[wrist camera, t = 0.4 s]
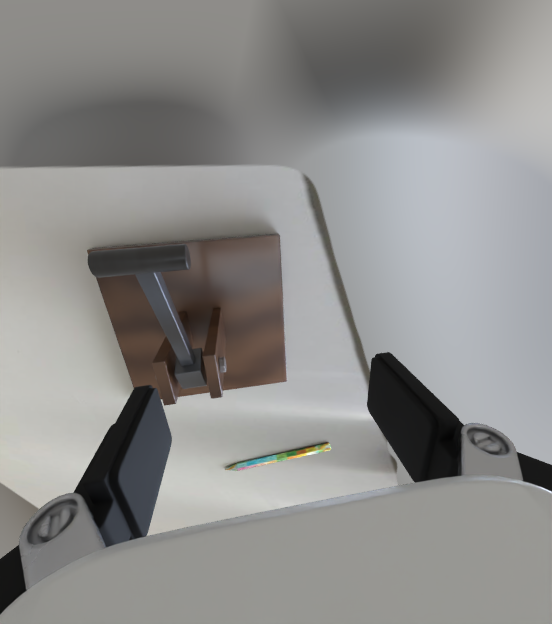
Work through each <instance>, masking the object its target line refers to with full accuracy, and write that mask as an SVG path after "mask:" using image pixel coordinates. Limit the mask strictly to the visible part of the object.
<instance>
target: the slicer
mask: <svg viewBox="0 0 552 624" xmlns="http://www.w3.org/2000/svg"><path fill="white" fill-rule="evenodd" d="M178 244H186V245H187V246H188V249H189V252H190V258H191V268H190V269H189V270H179V271H168V272H161V274H162V276H163V279H164V281H165V284H166V286H167V289H168V291H169V293H170V296H171V298H172V301H173V303H174V306H175V308H176V311H177V313H178V315H179V318H180V320H181V323H182V325H183V328H184V330H185V332H186V335H187V337H188V340H189V342H190V345H191V347H192V349H196V348H202V351H203V361H204V366H205V371H206V376H207V386H202V387H195V388H188V389H182V387H181V385H180V384H179V382H178V380H177V378H176V377H175V375H174V371H175V362H176V354H175V352H174V350H173V348H172V346H171V344H170V342H169V340H168V338H167V336H166V334H165V332H164V330H163V329H162V327H161V325H160V323H159V321H158V319H157V317H156V315H155V313H154V311H153V309H152V307H151V305H150V303H149V301H148V299H147V297H146V295H145V293H144V291H143V289H142V287H141V285H140V283H139V281H138V279H137V277H136V275H135V274H134V275H123V276H112V277H101V278H98V277H96V279H97V281H98V284H99V287H100V290H101V293H102V296H103V299H104V302H105V305H106V308H107V311H108V314H109V316H110V319H111V322H112V325H113V328H114V331H115V334H116V337H117V340H118V343H119V346H120V349H121V352H122V354H123V357H124V360H125V363H126V366H127V369H128V372H129V375H130V378H131V381H132V384H133V387H134V388H135V387H139V386H146V385H151V386H152V387H153V388H157V390H158V393H159V396H160V399H163V403H164V405H171V404H176V401H177V398H178V397H180V396H188V395H195V394H202V393H209V392H210V396H211V398H219V397H222V394H223V390H230V389H237V388H244V387H251V386H258V385H265V384H272V383H279V382H286V381H287V371H286V351H285V331H284V312H283V292H282V272H281V252H280V235H279V234H270V235H257V236H244V237H231V238H218V239H205V240H192V241H180V242H167V243H154V244H141V245H128V246H115V247H102V248H92V249H89V250H87V252H88V255H89V253H90V252H92V251H102V250H115V249H127V248H140V247H153V246H165V245H178Z"/></svg>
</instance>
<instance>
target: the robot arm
mask: <svg viewBox="0 0 552 624" xmlns="http://www.w3.org/2000/svg"><path fill="white" fill-rule="evenodd" d="M367 407H368V410H369V412H370V414H371V416H372V417H373V419H374V420H375V422H376V423H377V425H378V426H379V428H380V430H381V431H382V433H383V434H384V436H385V437H386V439H387V440H388V442H389V444H390V445H391V446H392V448H393V450H394V451H395V453H396V454H397V456H398V458H399V459H400V461H401V462H402V464H403V465H404V467H405V469H406V470H407V472H408V473H409V475H410V476H411V478H412V479H413V481H414V482H415V483H411V484H405V485H399V486H394V487H389V488H383V489H378V490H373V491H368V492H362V493H357V494H352V495H347V496H341V497H336V498H331V499H326V500H321V501H316V502H311V503H306V504H301V505H295V506H290V507H285V508H280V509H275V510H270V511H265V512H260V513H255V514H250V515H245V516H240V517H235V518H230V519H225V520H221V521H216V522H211V523H206V524H201V525H196V526H191V527H186V528H182V529H177V530H173V531H168V532H164V533H159V534H155V535H150V536H146V535H147V533H148V530H149V526H150V522H151V518H152V515H153V511H154V507H155V503H156V500H157V496H158V492H159V488H160V485H161V481H162V477H163V473H164V470H165V466H166V462H167V458H168V454H169V451H170V447H171V442H172V437H171V433H170V429H169V426H168V423H167V419H166V416H165V413H164V409H163V406H162V403H161V399H160V396H159V393H158V390H157V388H153V387H152V386H151V385H146V386H139V387H135V388H134V390H133V392H132V394H131V395H130V397H129V399H128V401H127V403H126V405H125V406H124V408H123V410H122V412H121V414H120V416H119V417H118V419H117V421H116V423H115V424H113V425H112V426H111V427H110V428H109V430H108V432H107V434H106V435H105V437H104V439H103V441H102V443H101V444H100V446H99V448H98V450H97V452H96V453H95V455H94V457H93V459H92V460H91V462H90V464H89V466H88V468H87V469H86V471H85V473H84V475H83V477H82V478H81V480H80V482H79V484H78V486H77V487H76V489H75V491H74V493H68V494H64V495H62V496H59V497H57V498H55V499H53V500H51V501H50V502H48V503H47V504H45V505H44V506H43V507H41V508H40V509H39V510H38V511H37V512H36V513H35V514H34V515H33V516H32V517H31V518H30V519H29V521H28V522H27V523H26V525H25V526H24V528H23V530H22V532H21V535H20V539H19V545H18V546H17V547H16V548H14V549H13V550H11V551H10V552H9V553H8V554H6V555H5V556H4V557H2V558H1V559H0V624H552V465H550V464H547V463H545V462H542V461H539V460H537V459H534V458H531V457H529V456H526V455H523V454H521V453H518V452H516V449H515V446H514V444H513V443H512V442H511V441H510V439H509V438H508V437H506V436H505V435H504V434H503V433H501V432H500V431H498V430H496V429H494V428H492V427H489V426H487V425H483V424H479V423H469V424H466V425H463V424H462V423H461V422H460V421H459V419H458V418H457V417H456V416H455V415H454V414H453V413H452V412H451V411H450V410H449V409H448V408H447V407H446V406H445V405H444V404H443V403H442V402H441V401H440V400H439V399H438V398H437V397H435V396H434V394H433V393H431V392H430V391H429V390H428V389H427V388H426V387H425V386H424V385H423V384H422V383H421V382H420V381H419V380H418V379H417V378H416V377H415V376H414V375H413V374H412V373H411V372H410V371H409V370H408V369H407V368H406V367H405V366H404V365H403V364H401V363H400V362H399V361H398V360H397V359H396V358H395V357H394V356H393V355H392V354H391V353H389V352H387V353H380V354H376V355H375V357H374V358H372V361H371V371H370V381H369V391H368V401H367Z"/></svg>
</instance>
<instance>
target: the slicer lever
mask: <svg viewBox="0 0 552 624" xmlns="http://www.w3.org/2000/svg"><path fill="white" fill-rule="evenodd" d="M88 265H89V268H90V271H91V272H92V274H93V275H94V276H95V277H98V278H101V277H112V276H123V275H134V274H135V275H136V277H137V279H138V281H139V283H140V285H141V287H142V289H143V291H144V293H145V295H146V297H147V299H148V301H149V303H150V305H151V307H152V309H153V311H154V313H155V315H156V317H157V319H158V321H159V323H160V325H161V327H162V329H163V330H164V332H165V334H166V336H167V338H168V340H169V342H170V344H171V346H172V348H173V350H174V352H175V354H176V362H175V371H174V375H175V377H176V378H177V380H178V382H179V384H180V385H181V387H182V389H188V388H195V387H202V386H207V376H206V371H205V366H204V361H203V351H202V348H196V349H192V347H191V345H190V342H189V340H188V337H187V335H186V332H185V330H184V328H183V325H182V323H181V320H180V318H179V315H178V313H177V311H176V308H175V306H174V303H173V301H172V298H171V296H170V293H169V291H168V289H167V286H166V284H165V281H164V279H163V276H162V274H161V272H168V271H179V270H189V269H190V268H191V258H190V252H189V249H188V246H187V245H186V244H178V245H165V246H153V247H140V248H127V249H115V250H102V251H92V252H90V253H89V255H88Z"/></svg>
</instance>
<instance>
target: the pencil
mask: <svg viewBox="0 0 552 624" xmlns="http://www.w3.org/2000/svg"><path fill="white" fill-rule="evenodd" d="M330 450H331V446H330V444H329V443H325V444H320V445H315V446H311V447H307V448H302V449H298V450H293V451H289V452H285V453H280V454H276V455H271V456H267V457H262V458H258V459H253V460H249V461H244V462H240V463H236V464H234V465H232V466H230V467H228V468H226V469H225V470H235V471H239V470H243V469H248V468H252V467H256V466H261V465H265V464H270V463H274V462H279V461H283V460H288V459H292V458H297V457H301V456H306V455H310V454H315V453H320V452H325V451H330Z"/></svg>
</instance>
